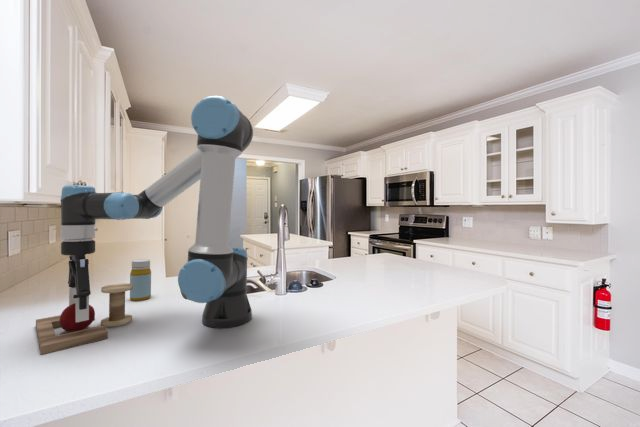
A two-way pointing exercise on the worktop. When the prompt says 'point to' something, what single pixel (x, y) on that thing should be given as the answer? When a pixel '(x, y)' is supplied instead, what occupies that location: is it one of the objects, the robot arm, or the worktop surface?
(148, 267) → the bottle
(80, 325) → the apple
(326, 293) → the worktop surface
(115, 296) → the bobbin
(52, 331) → the notched board
